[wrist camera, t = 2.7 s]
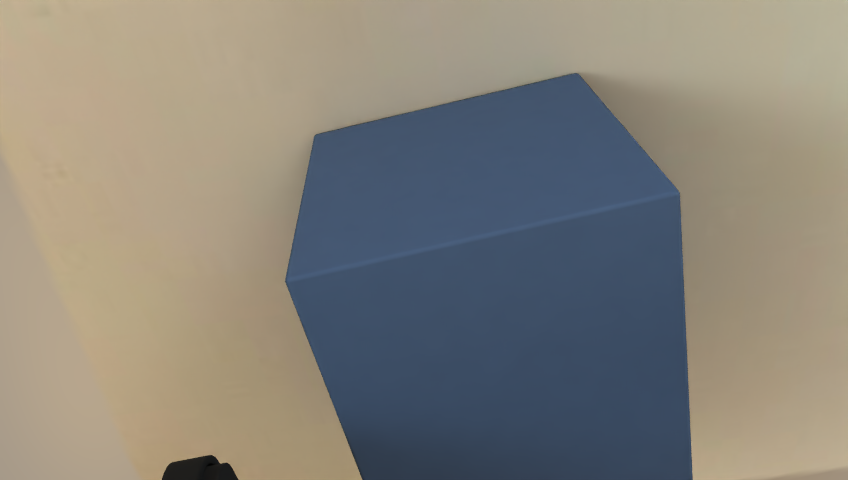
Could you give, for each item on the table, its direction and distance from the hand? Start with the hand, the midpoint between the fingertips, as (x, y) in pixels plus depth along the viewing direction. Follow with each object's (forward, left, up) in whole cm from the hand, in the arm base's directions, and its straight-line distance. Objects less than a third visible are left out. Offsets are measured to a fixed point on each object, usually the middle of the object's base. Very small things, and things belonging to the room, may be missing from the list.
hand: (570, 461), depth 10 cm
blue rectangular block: (-1, 0, -6) cm, 6 cm away
